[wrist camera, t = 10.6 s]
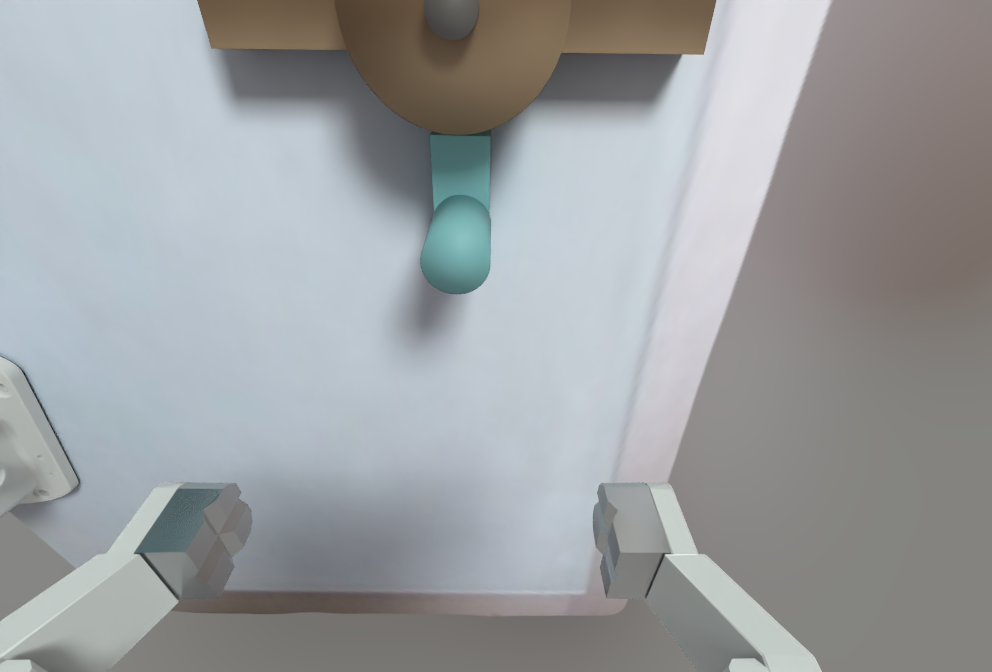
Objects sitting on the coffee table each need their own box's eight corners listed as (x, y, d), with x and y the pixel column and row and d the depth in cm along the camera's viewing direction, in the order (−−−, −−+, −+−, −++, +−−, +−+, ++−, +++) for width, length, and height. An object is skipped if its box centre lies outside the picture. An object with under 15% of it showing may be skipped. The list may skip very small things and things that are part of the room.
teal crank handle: (432, 127, 24) (412, 160, 18) (492, 128, 24) (492, 162, 18) (437, 236, 27) (422, 293, 21) (490, 237, 27) (489, 294, 21)
